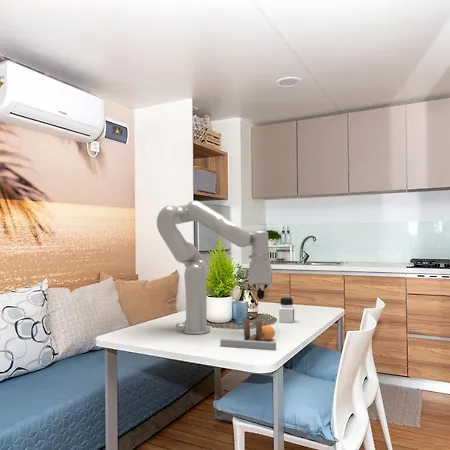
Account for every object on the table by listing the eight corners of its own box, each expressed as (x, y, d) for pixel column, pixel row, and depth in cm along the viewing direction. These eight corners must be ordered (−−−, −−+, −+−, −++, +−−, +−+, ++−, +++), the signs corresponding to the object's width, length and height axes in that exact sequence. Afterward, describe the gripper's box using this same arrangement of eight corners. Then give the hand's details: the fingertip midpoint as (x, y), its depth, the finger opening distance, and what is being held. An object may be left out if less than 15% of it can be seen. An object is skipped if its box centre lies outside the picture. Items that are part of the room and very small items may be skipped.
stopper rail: (220, 346, 165) (220, 339, 165) (221, 344, 167) (221, 338, 167) (275, 350, 159) (275, 343, 159) (276, 348, 161) (276, 342, 161)
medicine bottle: (293, 323, 205) (293, 298, 206) (279, 322, 207) (278, 298, 207) (294, 320, 212) (293, 296, 213) (280, 319, 214) (279, 296, 214)
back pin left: (244, 342, 171) (244, 320, 171) (243, 340, 173) (243, 318, 173) (250, 341, 171) (250, 319, 171) (249, 340, 174) (249, 318, 174)
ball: (273, 329, 170) (270, 320, 175) (259, 334, 170) (257, 325, 176) (277, 340, 172) (275, 331, 178) (264, 345, 173) (262, 335, 178)
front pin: (253, 341, 174) (247, 346, 166) (250, 335, 175) (245, 341, 166) (258, 338, 174) (253, 344, 165) (255, 333, 174) (250, 338, 165)
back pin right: (256, 342, 169) (256, 320, 170) (255, 341, 172) (255, 319, 172) (262, 342, 170) (262, 320, 170) (261, 341, 172) (261, 319, 172)
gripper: (242, 258, 186) (242, 299, 186) (275, 258, 182) (275, 300, 182) (246, 257, 193) (246, 297, 193) (278, 257, 189) (278, 298, 189)
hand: (260, 298), depth 187 cm, fingers closed
